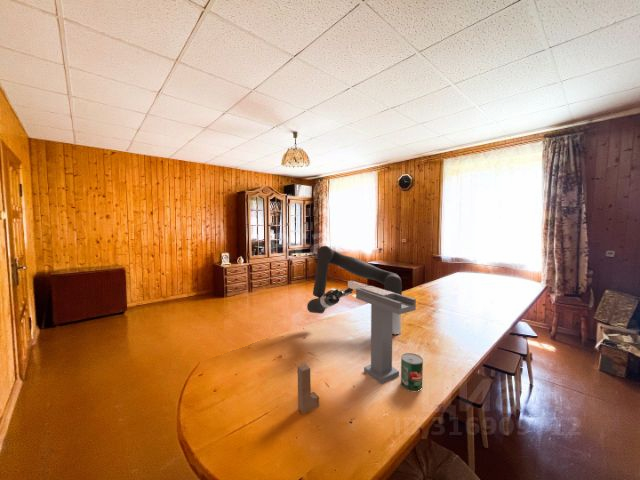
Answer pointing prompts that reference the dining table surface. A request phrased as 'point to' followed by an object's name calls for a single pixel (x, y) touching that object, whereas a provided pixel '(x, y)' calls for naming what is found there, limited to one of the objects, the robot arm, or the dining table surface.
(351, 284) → the block
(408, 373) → the canned tomato
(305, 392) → the l-shaped bracket
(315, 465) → the dining table surface
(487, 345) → the dining table surface
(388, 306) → the stand
